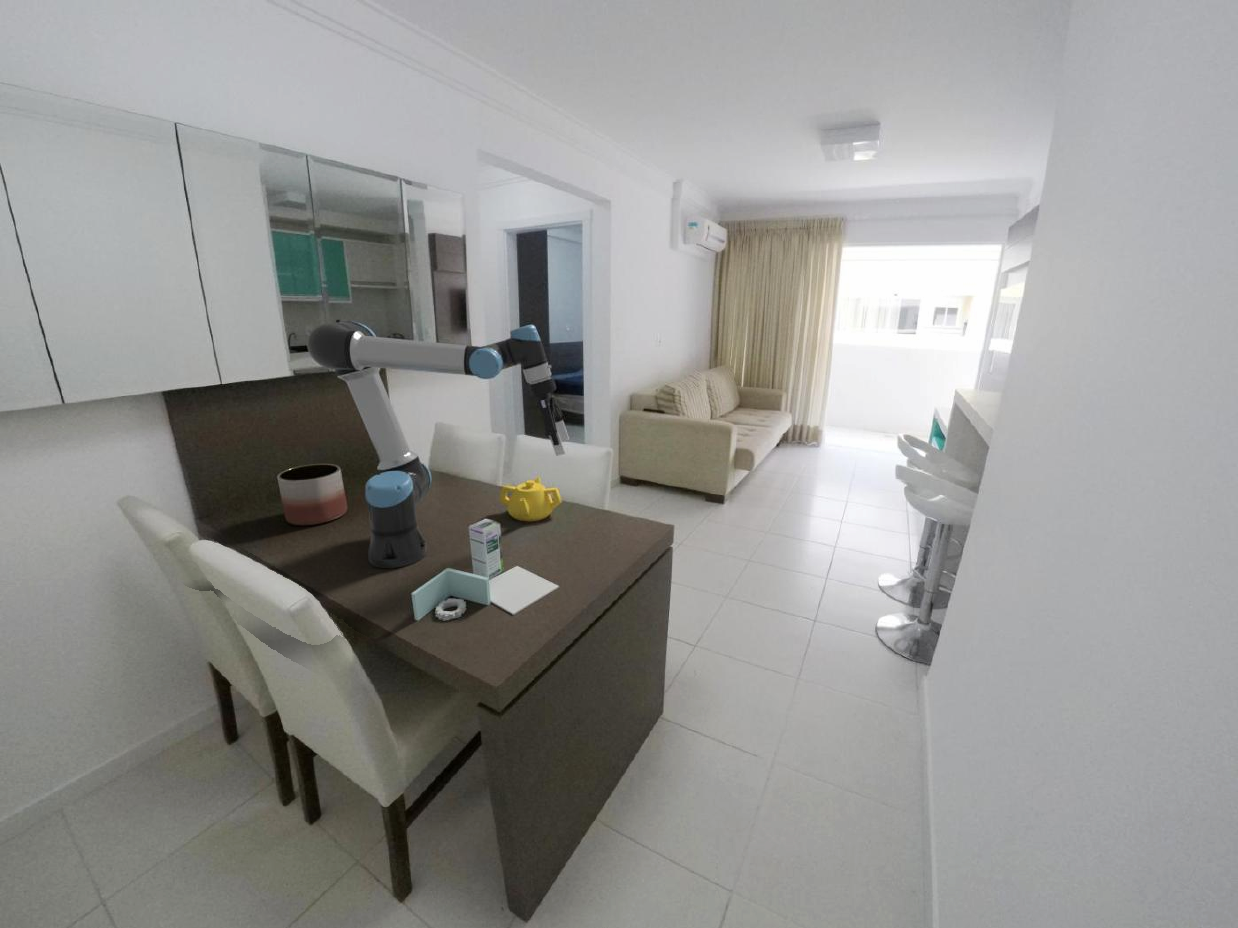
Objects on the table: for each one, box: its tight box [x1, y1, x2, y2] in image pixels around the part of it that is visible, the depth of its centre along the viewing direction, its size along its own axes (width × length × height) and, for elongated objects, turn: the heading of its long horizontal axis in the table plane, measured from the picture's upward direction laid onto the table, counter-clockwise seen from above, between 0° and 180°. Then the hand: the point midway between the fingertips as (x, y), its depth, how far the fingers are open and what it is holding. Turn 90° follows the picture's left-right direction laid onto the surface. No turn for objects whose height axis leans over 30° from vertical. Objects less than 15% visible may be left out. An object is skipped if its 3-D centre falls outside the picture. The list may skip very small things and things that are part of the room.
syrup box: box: [468, 518, 505, 580], centre depth 127 cm, size 6×6×14 cm
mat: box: [489, 565, 560, 616], centre depth 122 cm, size 16×15×1 cm
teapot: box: [498, 477, 563, 522], centre depth 165 cm, size 17×17×12 cm
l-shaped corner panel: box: [411, 567, 492, 622], centre depth 112 cm, size 12×12×8 cm
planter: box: [276, 463, 348, 526], centre depth 159 cm, size 18×18×16 cm
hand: (563, 447), depth 146 cm, fingers open, 13 cm apart
